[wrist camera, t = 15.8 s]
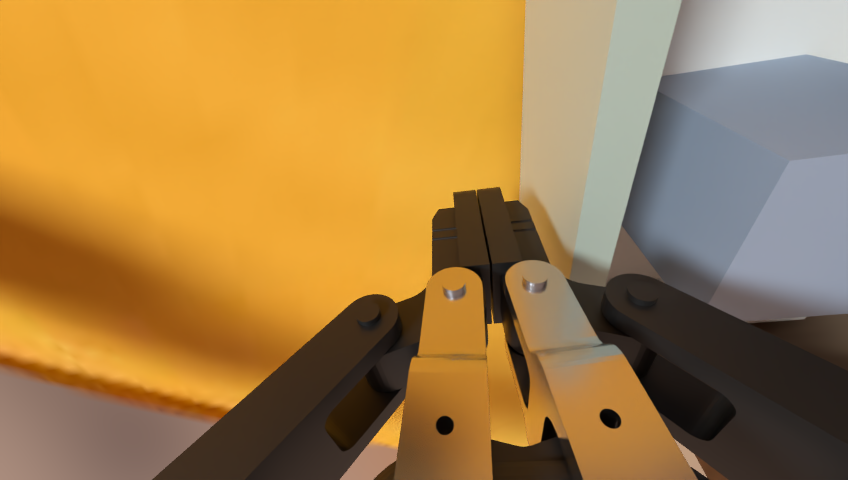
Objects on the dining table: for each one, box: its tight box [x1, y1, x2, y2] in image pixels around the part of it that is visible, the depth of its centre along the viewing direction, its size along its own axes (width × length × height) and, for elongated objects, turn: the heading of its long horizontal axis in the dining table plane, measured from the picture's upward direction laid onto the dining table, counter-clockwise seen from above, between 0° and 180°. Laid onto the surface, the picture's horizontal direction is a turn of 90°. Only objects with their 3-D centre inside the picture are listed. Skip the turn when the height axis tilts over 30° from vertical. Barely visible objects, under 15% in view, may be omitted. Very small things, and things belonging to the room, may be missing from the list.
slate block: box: [622, 54, 848, 321], centre depth 10 cm, size 5×5×6 cm
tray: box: [519, 0, 848, 323], centre depth 11 cm, size 12×19×6 cm, turn 9°
